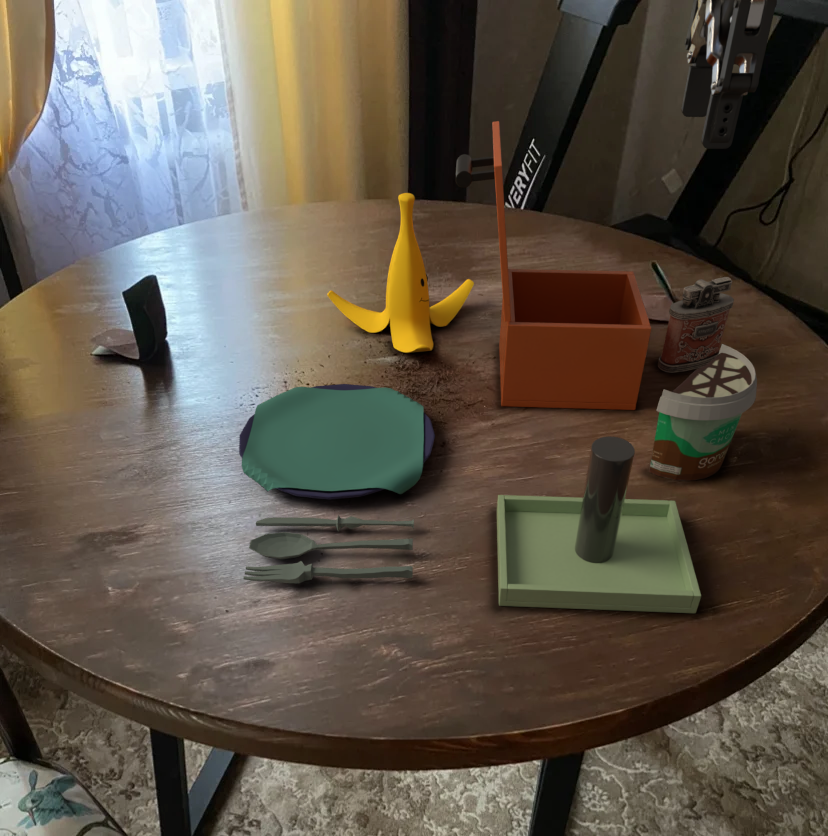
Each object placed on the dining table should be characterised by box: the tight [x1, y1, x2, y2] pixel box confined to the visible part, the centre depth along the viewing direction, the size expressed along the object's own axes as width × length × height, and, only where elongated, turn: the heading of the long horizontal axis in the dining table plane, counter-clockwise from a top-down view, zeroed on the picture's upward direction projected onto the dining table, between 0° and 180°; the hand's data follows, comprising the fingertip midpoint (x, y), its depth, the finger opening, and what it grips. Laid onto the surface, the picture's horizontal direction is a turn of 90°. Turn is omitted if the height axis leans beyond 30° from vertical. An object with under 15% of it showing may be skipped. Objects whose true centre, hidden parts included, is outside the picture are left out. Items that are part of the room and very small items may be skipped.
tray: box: [496, 494, 702, 614], centre depth 73 cm, size 16×12×2 cm
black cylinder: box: [575, 435, 636, 563], centre depth 70 cm, size 3×3×11 cm
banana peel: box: [326, 192, 475, 354], centre depth 101 cm, size 16×19×17 cm
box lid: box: [455, 120, 511, 322], centre depth 86 cm, size 15×14×4 cm
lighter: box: [657, 276, 735, 374], centre depth 96 cm, size 8×3×10 cm, turn 114°
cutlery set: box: [238, 383, 436, 584], centre depth 82 cm, size 20×30×2 cm, turn 179°
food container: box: [648, 343, 758, 482], centre depth 81 cm, size 12×6×10 cm, turn 137°
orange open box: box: [498, 268, 652, 411], centre depth 94 cm, size 15×14×10 cm
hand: (703, 130), depth 68 cm, fingers open, 8 cm apart
